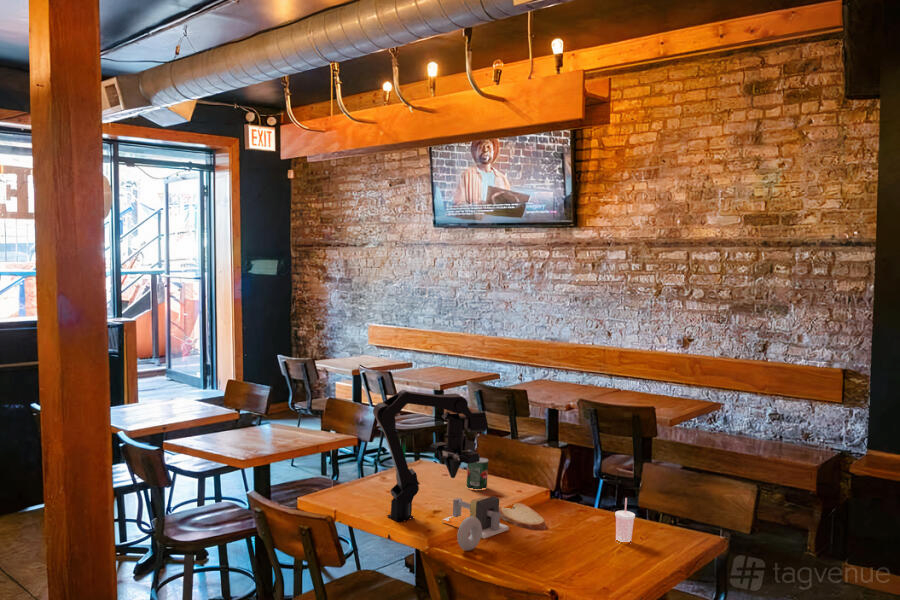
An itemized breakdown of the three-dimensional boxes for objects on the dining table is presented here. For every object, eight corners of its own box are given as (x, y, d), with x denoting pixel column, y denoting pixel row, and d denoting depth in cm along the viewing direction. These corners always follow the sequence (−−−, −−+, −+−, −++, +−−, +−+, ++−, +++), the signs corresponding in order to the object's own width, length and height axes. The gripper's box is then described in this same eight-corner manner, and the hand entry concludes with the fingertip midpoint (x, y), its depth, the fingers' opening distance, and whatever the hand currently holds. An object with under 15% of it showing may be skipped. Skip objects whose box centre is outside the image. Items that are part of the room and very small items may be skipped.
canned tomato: (464, 484, 291) (465, 456, 291) (484, 484, 293) (485, 456, 292) (468, 491, 283) (470, 462, 283) (489, 491, 285) (490, 462, 284)
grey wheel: (474, 543, 231) (476, 511, 231) (483, 547, 229) (485, 514, 229) (453, 552, 224) (455, 519, 223) (463, 556, 221) (464, 522, 221)
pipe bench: (484, 538, 236) (485, 517, 236) (442, 522, 248) (443, 502, 248) (508, 529, 245) (509, 509, 244) (466, 514, 257) (467, 495, 257)
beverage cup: (619, 545, 236) (622, 501, 235) (610, 538, 241) (612, 495, 241) (637, 544, 237) (639, 500, 236) (627, 537, 243) (630, 494, 242)
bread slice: (545, 532, 245) (546, 521, 245) (490, 525, 250) (491, 514, 250) (551, 514, 263) (552, 504, 263) (500, 508, 267) (501, 497, 267)
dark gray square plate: (481, 529, 239) (482, 503, 239) (475, 527, 241) (476, 501, 241) (498, 523, 245) (499, 498, 245) (492, 521, 247) (493, 496, 247)
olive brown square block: (476, 525, 241) (477, 502, 241) (469, 522, 244) (470, 500, 243) (491, 520, 247) (492, 498, 246) (484, 517, 249) (485, 496, 248)
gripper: (492, 434, 254) (489, 480, 255) (453, 423, 267) (450, 467, 268) (469, 438, 246) (466, 486, 247) (430, 427, 259) (427, 472, 260)
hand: (452, 477), depth 256 cm, fingers closed
